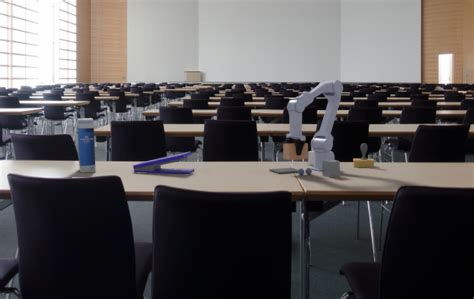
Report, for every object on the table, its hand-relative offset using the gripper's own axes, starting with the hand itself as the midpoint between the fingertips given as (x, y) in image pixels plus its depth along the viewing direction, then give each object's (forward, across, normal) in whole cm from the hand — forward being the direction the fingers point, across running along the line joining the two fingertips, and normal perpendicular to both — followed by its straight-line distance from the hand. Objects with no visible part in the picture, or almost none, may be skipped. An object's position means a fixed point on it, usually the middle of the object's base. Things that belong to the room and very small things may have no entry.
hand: (295, 154), depth 249 cm
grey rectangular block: (+9, +14, +11) cm, 19 cm away
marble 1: (+9, +6, 0) cm, 11 cm away
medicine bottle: (+9, -18, +23) cm, 31 cm away
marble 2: (+9, +6, +4) cm, 11 cm away
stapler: (+10, -33, -55) cm, 65 cm away
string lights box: (+9, -53, -88) cm, 103 cm away
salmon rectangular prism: (+2, 0, 0) cm, 2 cm away
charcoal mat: (+9, -6, -2) cm, 11 cm away
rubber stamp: (+9, -3, +41) cm, 42 cm away
